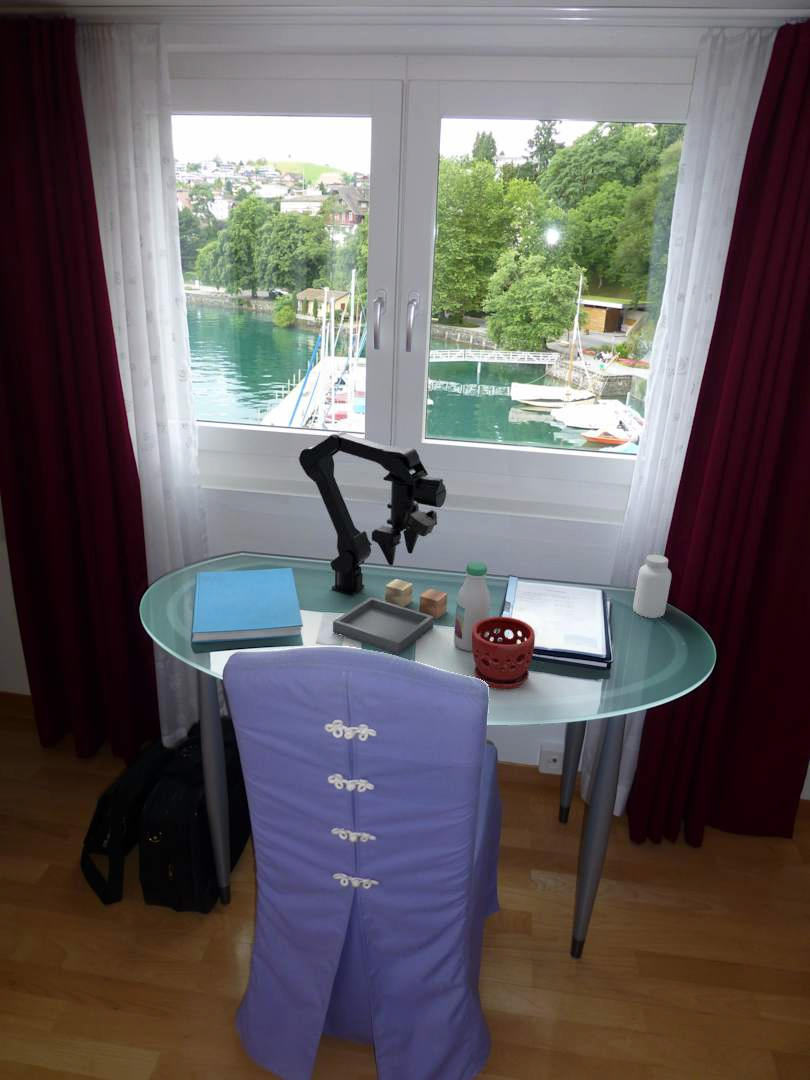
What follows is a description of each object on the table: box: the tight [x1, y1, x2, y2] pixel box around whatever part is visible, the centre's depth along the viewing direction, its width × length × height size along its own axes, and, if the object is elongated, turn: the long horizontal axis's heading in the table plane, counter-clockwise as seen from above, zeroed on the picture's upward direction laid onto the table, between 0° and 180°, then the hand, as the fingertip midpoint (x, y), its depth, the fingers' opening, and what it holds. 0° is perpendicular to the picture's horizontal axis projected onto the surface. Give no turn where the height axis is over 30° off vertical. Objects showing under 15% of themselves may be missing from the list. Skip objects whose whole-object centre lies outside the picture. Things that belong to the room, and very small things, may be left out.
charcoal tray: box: [332, 596, 435, 656], centre depth 193 cm, size 18×16×3 cm
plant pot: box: [472, 616, 536, 690], centre depth 173 cm, size 13×13×12 cm
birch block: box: [384, 578, 414, 607], centre depth 207 cm, size 5×5×5 cm
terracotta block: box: [418, 588, 448, 620], centre depth 202 cm, size 5×5×5 cm
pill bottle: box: [632, 554, 673, 619], centre depth 206 cm, size 8×8×15 cm
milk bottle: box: [453, 561, 491, 653], centre depth 185 cm, size 8×8×20 cm
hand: (400, 558), depth 203 cm, fingers open, 9 cm apart
